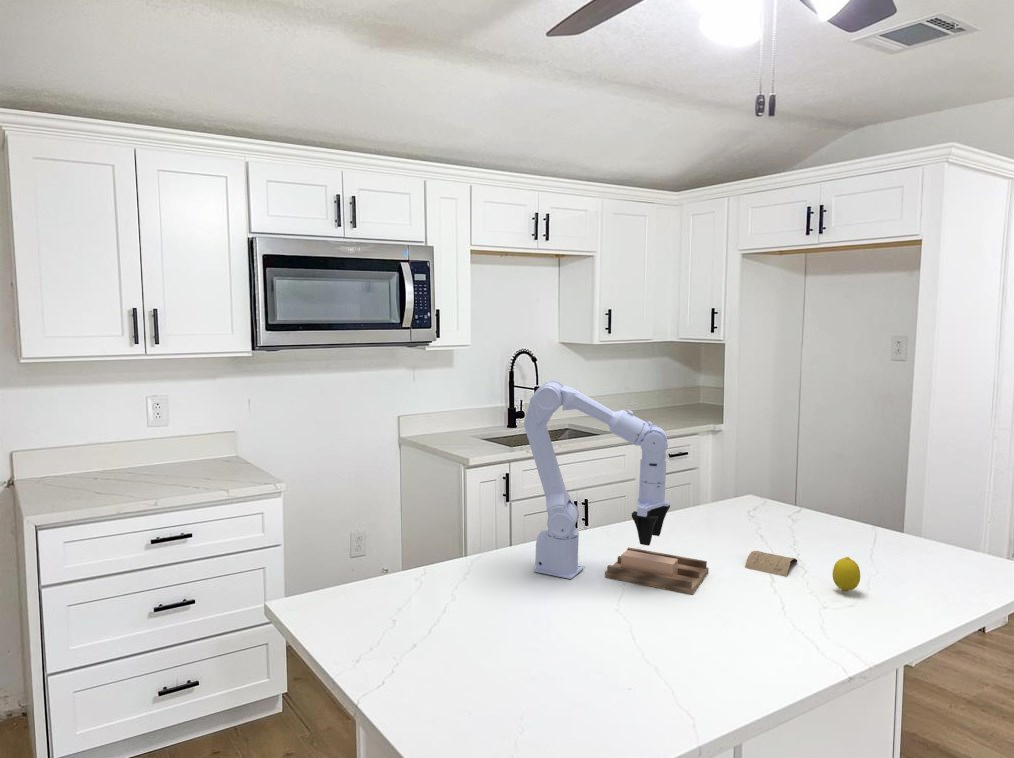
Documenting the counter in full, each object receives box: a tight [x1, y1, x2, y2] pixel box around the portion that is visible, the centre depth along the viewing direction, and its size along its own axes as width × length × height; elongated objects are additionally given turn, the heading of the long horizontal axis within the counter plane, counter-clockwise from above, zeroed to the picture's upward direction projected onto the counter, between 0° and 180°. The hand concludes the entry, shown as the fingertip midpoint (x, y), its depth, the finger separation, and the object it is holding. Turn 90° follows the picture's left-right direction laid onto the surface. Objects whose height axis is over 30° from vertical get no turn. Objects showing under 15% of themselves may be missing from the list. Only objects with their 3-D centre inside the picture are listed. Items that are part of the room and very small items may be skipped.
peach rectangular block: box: [620, 549, 678, 578], centre depth 170 cm, size 12×4×4 cm, turn 62°
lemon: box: [832, 556, 861, 593], centre depth 164 cm, size 6×6×8 cm
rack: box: [604, 547, 710, 595], centre depth 173 cm, size 20×15×3 cm
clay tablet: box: [744, 550, 798, 578], centre depth 181 cm, size 14×10×3 cm
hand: (650, 539), depth 169 cm, fingers open, 7 cm apart
